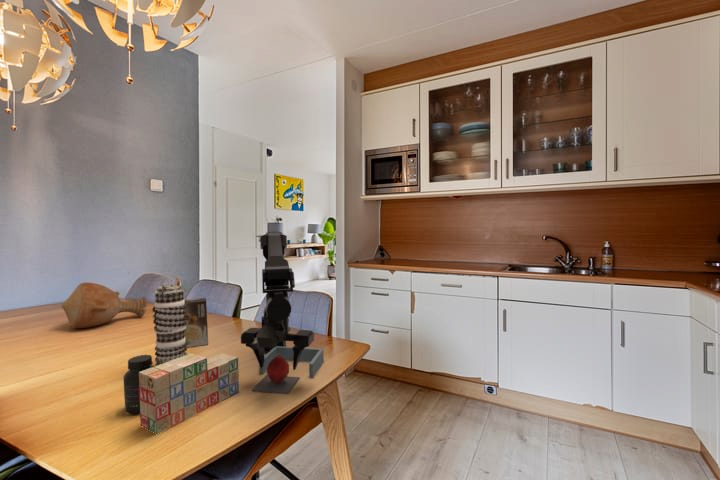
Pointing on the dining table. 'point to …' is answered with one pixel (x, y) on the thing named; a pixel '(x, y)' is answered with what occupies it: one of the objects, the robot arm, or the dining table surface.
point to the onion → (278, 369)
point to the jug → (97, 305)
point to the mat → (276, 385)
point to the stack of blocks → (185, 388)
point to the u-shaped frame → (308, 354)
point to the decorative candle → (169, 323)
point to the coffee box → (196, 322)
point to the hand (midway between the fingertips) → (278, 368)
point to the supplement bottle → (134, 382)
